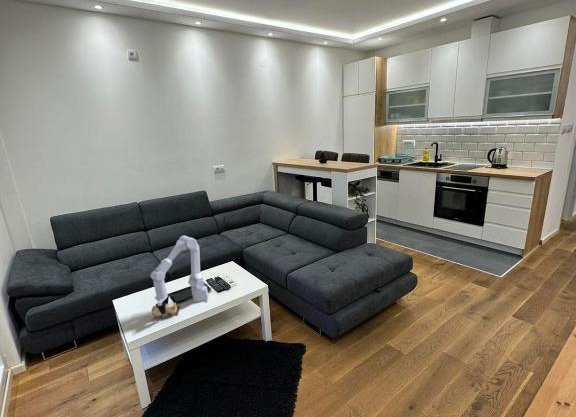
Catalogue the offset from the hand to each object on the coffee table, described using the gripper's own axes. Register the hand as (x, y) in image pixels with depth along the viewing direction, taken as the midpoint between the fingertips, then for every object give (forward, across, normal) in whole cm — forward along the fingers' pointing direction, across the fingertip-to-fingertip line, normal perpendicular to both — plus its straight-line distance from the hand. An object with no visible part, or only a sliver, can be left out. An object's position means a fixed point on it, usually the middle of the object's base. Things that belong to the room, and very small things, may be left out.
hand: (164, 310), depth 180 cm
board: (+4, -4, 0) cm, 6 cm away
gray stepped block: (+4, 0, 0) cm, 4 cm away
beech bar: (+1, 0, 0) cm, 1 cm away
